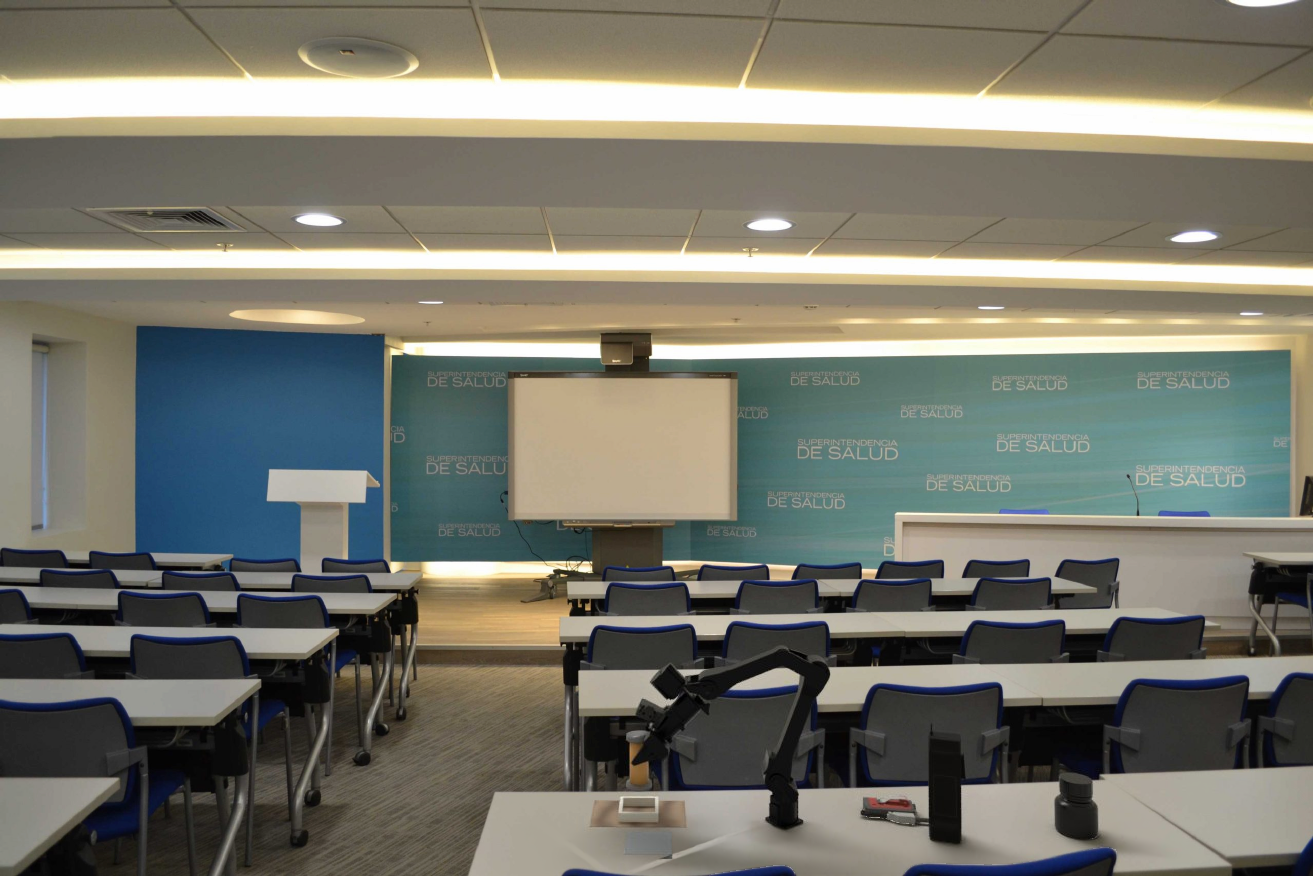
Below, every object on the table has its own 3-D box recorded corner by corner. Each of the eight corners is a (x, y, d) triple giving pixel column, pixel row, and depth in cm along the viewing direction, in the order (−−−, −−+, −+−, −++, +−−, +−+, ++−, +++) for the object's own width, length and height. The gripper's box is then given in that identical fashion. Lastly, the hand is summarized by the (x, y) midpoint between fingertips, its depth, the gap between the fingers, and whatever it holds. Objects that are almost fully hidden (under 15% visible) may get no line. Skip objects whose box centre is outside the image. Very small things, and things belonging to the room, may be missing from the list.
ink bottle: (1099, 827, 184) (1098, 775, 184) (1102, 844, 176) (1101, 789, 176) (1051, 819, 188) (1051, 768, 188) (1053, 835, 180) (1052, 781, 180)
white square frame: (658, 805, 193) (658, 796, 193) (658, 822, 183) (658, 813, 183) (620, 804, 193) (620, 796, 193) (618, 822, 183) (618, 813, 183)
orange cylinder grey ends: (641, 779, 192) (641, 728, 192) (656, 787, 187) (656, 735, 188) (621, 785, 188) (621, 734, 189) (636, 793, 184) (636, 741, 184)
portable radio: (965, 833, 180) (964, 722, 181) (966, 845, 175) (965, 730, 175) (928, 828, 183) (928, 718, 184) (928, 840, 177) (927, 726, 178)
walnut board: (684, 805, 195) (684, 800, 195) (686, 831, 181) (686, 827, 181) (594, 804, 195) (594, 800, 195) (589, 831, 181) (589, 826, 181)
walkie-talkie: (861, 823, 186) (951, 830, 183) (861, 804, 186) (950, 810, 183) (857, 807, 195) (943, 813, 192) (857, 789, 195) (943, 794, 192)
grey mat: (671, 836, 178) (671, 832, 178) (671, 859, 168) (671, 854, 168) (626, 836, 178) (626, 832, 178) (624, 859, 168) (624, 854, 168)
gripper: (657, 678, 198) (613, 722, 198) (653, 700, 179) (604, 749, 179) (689, 710, 197) (644, 755, 197) (688, 736, 178) (639, 785, 179)
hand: (633, 760), depth 188 cm, fingers closed on orange cylinder grey ends, 5 cm apart
